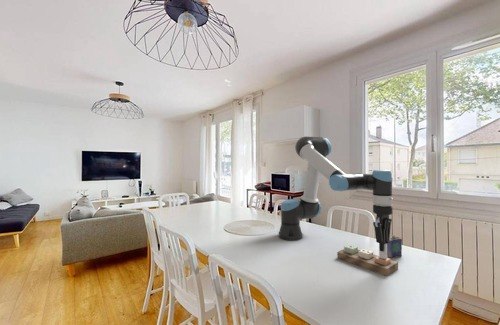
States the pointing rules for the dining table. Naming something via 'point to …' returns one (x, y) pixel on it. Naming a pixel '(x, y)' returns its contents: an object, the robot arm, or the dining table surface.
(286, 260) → the dining table surface
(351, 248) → the tile
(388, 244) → the flask
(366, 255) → the tile
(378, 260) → the three-pip tile
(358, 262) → the board
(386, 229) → the robot arm
